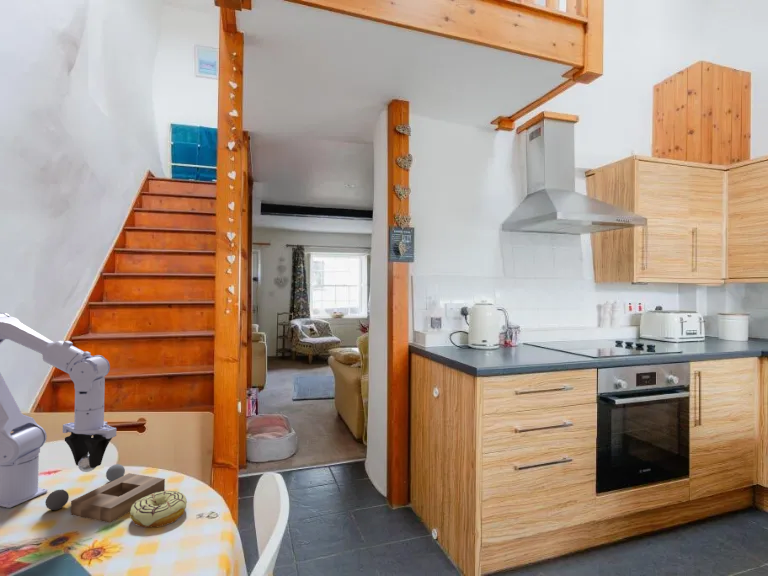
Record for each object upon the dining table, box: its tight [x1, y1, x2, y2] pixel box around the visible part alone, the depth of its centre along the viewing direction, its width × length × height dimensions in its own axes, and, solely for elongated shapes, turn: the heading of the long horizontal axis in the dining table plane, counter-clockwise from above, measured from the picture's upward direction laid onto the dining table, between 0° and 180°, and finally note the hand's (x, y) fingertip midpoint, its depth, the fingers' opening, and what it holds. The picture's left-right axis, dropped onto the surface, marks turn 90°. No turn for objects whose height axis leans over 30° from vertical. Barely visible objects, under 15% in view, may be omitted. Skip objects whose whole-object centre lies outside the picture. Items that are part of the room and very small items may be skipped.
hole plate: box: [70, 472, 166, 524], centre depth 91 cm, size 11×14×3 cm
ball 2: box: [105, 463, 126, 482], centre depth 102 cm, size 4×4×4 cm
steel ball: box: [78, 453, 97, 473], centre depth 95 cm, size 4×4×4 cm
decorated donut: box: [129, 490, 188, 529], centre depth 86 cm, size 10×11×4 cm
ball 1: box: [44, 489, 70, 511], centre depth 88 cm, size 4×4×4 cm
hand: (88, 465), depth 95 cm, fingers closed on steel ball, 4 cm apart
